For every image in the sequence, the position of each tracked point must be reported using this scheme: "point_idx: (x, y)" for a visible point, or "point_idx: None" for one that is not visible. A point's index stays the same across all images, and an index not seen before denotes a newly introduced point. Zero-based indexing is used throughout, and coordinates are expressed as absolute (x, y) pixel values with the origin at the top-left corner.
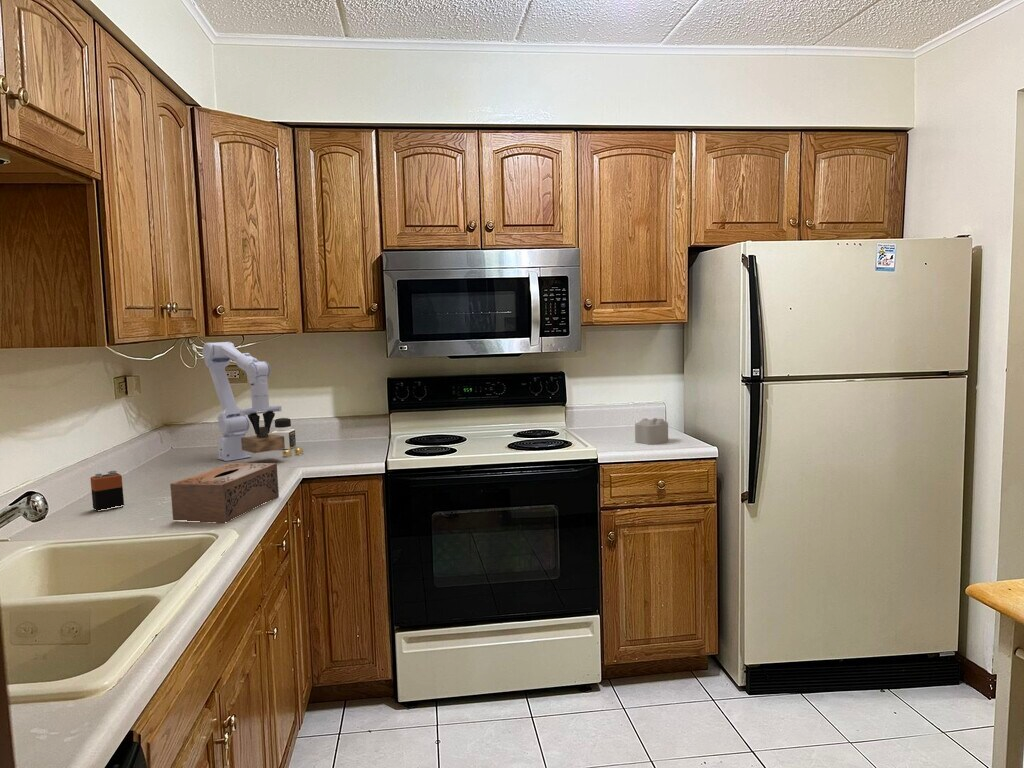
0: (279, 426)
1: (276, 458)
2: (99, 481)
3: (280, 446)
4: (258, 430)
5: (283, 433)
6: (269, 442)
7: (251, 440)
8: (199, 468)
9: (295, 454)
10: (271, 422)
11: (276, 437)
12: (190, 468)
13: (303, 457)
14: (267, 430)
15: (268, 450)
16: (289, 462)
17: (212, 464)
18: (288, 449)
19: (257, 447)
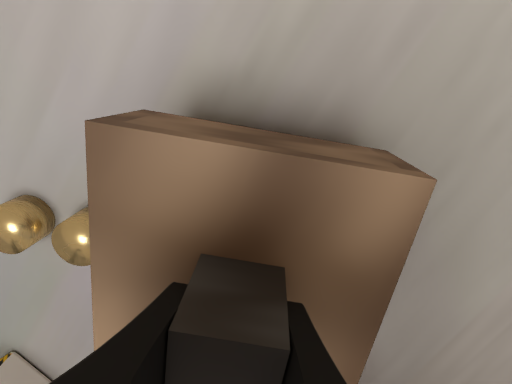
0: None
1: None
2: None
3: (171, 117)
4: (304, 329)
5: None
6: (261, 142)
7: (412, 235)
8: (489, 346)
9: (50, 215)
10: (72, 367)
11: (174, 136)
12: (501, 376)
13: (47, 118)
14: (187, 299)
15: (277, 132)
16: (175, 57)
17: (400, 367)
18: (59, 255)
19: (374, 156)
